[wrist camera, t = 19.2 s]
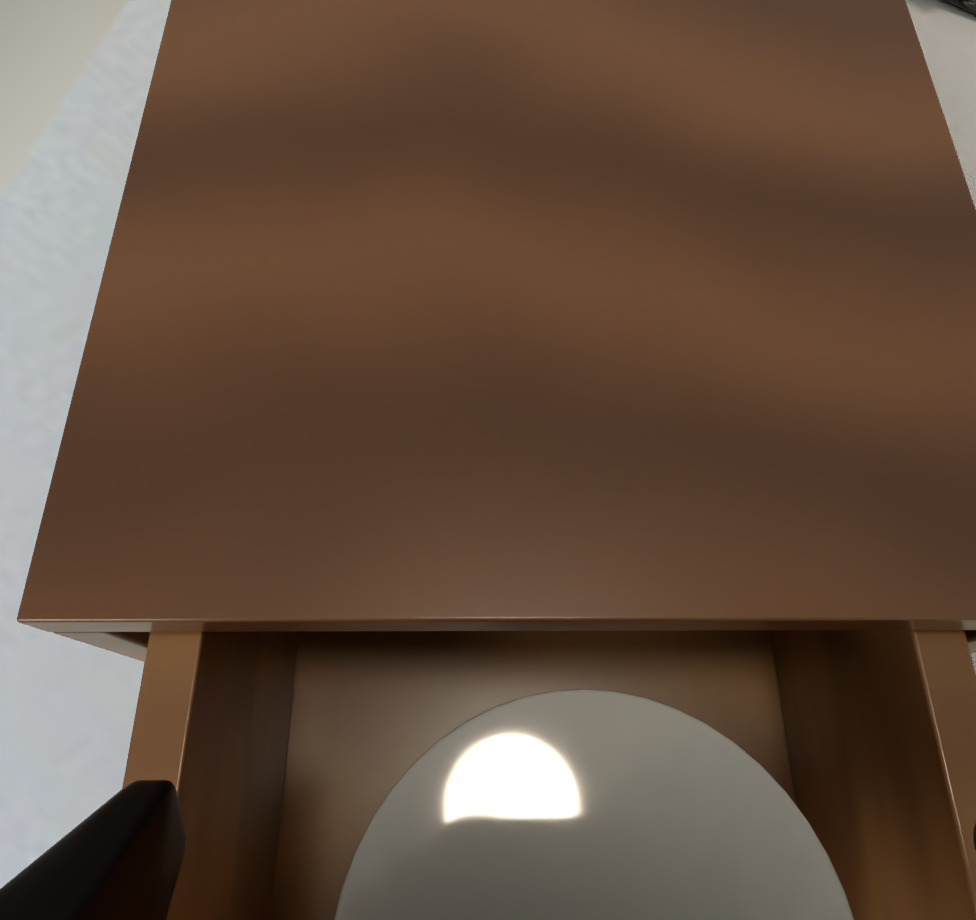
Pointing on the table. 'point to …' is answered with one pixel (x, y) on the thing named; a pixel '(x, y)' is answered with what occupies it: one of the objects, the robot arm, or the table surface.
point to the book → (965, 4)
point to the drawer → (537, 669)
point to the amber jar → (589, 824)
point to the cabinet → (526, 329)
